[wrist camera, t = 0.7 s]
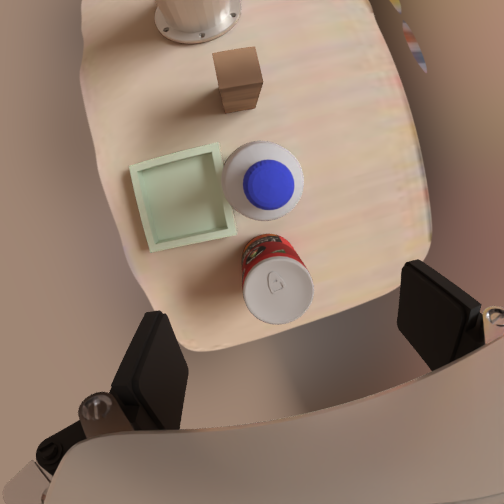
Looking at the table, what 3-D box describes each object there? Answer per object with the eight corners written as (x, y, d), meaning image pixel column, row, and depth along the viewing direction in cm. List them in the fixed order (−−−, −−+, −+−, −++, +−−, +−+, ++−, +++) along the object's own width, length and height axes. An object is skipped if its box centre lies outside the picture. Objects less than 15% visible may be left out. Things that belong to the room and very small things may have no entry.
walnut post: (219, 86, 32) (212, 53, 20) (249, 81, 31) (255, 46, 20) (225, 113, 33) (219, 89, 21) (255, 108, 33) (263, 82, 21)
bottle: (287, 183, 36) (340, 204, 17) (244, 209, 37) (252, 257, 18) (261, 141, 34) (288, 112, 15) (217, 167, 35) (194, 168, 16)
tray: (135, 165, 34) (128, 166, 32) (219, 143, 34) (218, 142, 32) (155, 247, 38) (150, 252, 35) (237, 230, 38) (237, 234, 35)
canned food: (273, 221, 38) (286, 243, 27) (305, 263, 40) (328, 297, 29) (229, 254, 39) (226, 288, 28) (264, 294, 41) (272, 336, 30)
